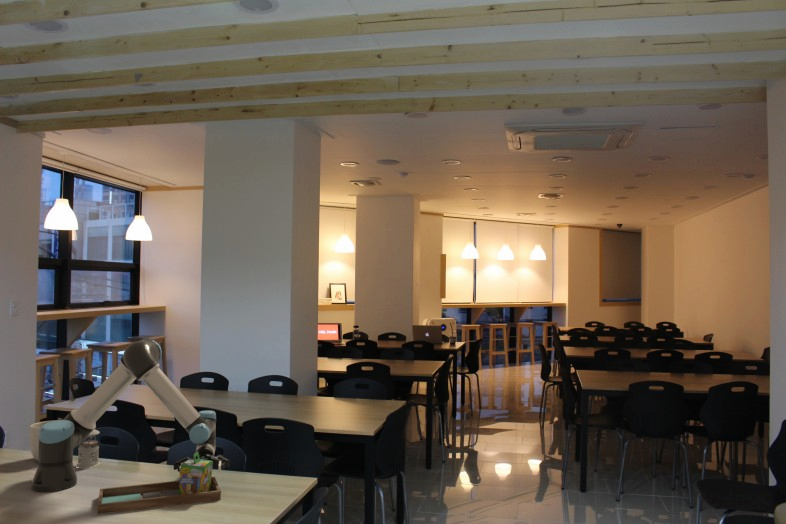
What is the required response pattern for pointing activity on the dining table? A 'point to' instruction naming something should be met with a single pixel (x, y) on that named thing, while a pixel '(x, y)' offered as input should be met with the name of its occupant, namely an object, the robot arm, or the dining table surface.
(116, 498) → the mat
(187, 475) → the chalk box
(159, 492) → the mats
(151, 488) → the brown wooden tray
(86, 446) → the french press
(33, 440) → the planter
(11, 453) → the dining table surface
